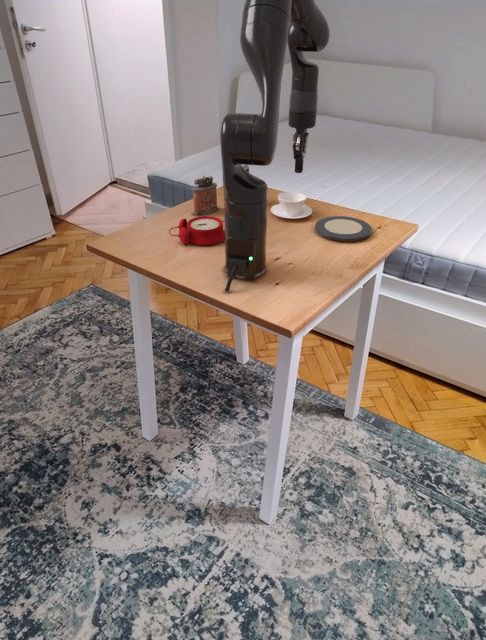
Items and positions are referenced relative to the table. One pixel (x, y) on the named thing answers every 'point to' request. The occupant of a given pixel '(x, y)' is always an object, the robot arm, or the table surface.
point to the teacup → (291, 206)
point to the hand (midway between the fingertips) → (298, 172)
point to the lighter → (204, 196)
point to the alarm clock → (201, 230)
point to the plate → (343, 228)
